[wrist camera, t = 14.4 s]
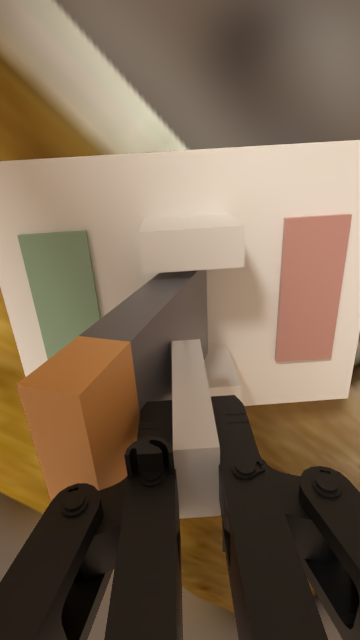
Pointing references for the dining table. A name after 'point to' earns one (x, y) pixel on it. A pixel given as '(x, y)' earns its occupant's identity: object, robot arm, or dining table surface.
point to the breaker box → (196, 256)
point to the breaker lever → (111, 381)
